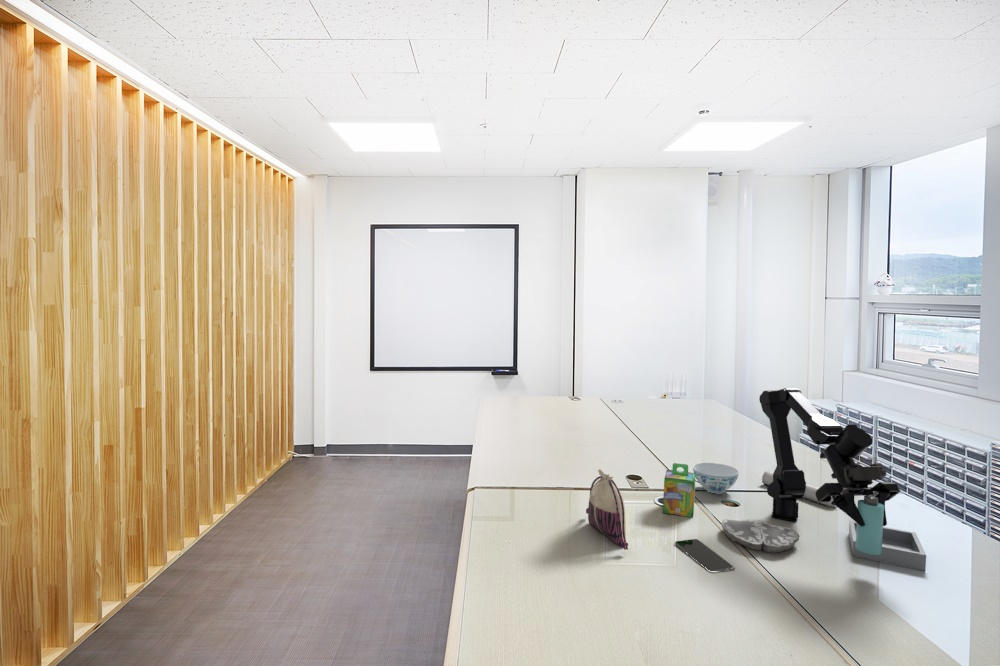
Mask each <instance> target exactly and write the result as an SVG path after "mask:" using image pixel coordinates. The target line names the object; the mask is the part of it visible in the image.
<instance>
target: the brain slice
mask: <svg viewBox="0 0 1000 666" xmlns="http://www.w3.org/2000/svg"><path fill="white" fill-rule="evenodd" d="M721 529H722V530H723V531H724V533H725V535H726V536H727V537H728V539H730V540H731V541H732V542H734V543H738V544H740V545H742V546H744V547H747V548H749V549H750V550H756V551H759V552H760V551H764V552H766V553H781V552H783V551H784V552H785V551H788V550H789V549H792V547H793V546H795V544H796V543H797V542H799V540H800V537H801V536H800V534H799V533H798V532H797V531H796V530H795V529H792V528H790V527H787V526H786V527H785V526H780V525H774V524H771V523H769V522H768V523H767V522H766V521H762V520H754V519H749V518H747V519H733V518H724V519H723V520H722V522H721Z"/></svg>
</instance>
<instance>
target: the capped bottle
mask: <svg viewBox="0 0 1000 666" xmlns="http://www.w3.org/2000/svg"><path fill="white" fill-rule="evenodd" d="M857 508H858V510H859V512H860V514H861V516H862V518H863V521H864V524H865V525H864V526H863V527H861V526H860V525H859V524H858V523H857V529H856V548H857V549H858V550H859V551H861V552H864V553H867V554H872V555H879V554H881V553H882V535H883V527H884V526H883V516H884V505H883V504H881V503H879V502H878V498H876V497H874V496H863V499H858V500H857Z"/></svg>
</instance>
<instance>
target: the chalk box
mask: <svg viewBox="0 0 1000 666" xmlns="http://www.w3.org/2000/svg"><path fill="white" fill-rule="evenodd" d="M678 468H682V469H683V471H682V470H678ZM663 479H664V480H663V481H664V483H663V497H662V498H663V503H662V505H663V506H662V513H663V514H668V513H669V514H670V515H677V516H681V517H687V518H693V517H694V514H695V513H694V510H695V499H696V498H695V496H696V495H695V494H696V493H695V492H696V475H695V473H694V472H691V471H689V465H688V463H687V464H686V463H675V462H674V463H672V469H666V471H665V475H664V478H663ZM669 514H668V515H669Z"/></svg>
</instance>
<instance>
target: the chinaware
mask: <svg viewBox="0 0 1000 666" xmlns="http://www.w3.org/2000/svg"><path fill="white" fill-rule="evenodd" d="M692 471H693V472H692V473H695V475H696V477H695V480H696V481H697V482H698V483H699V484H700V485H701V486H702V487H703V488H704V491H705V490H707V491H709V492H711V493H710V494H713V493H716V494H715V495H723V494H725V493H726V491H727V490H729V489H730V488H732V487H733V486H734V485H735V484H736V482H737V480H738V478H739V473H740V471H739V470H738V469H737V468H736V467H734V466H730V465H727V464H722V463H715V462H699V463H695V464H693V465H692ZM707 491H706V492H707ZM709 492H708V493H709ZM722 493H723V494H722Z"/></svg>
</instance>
